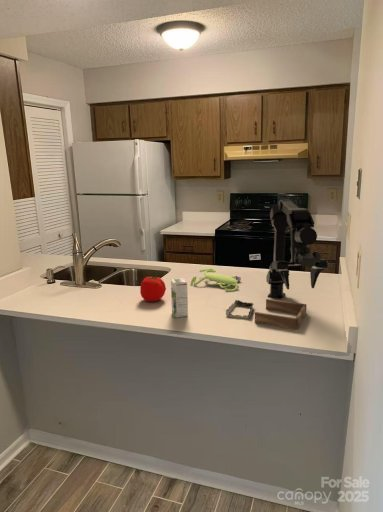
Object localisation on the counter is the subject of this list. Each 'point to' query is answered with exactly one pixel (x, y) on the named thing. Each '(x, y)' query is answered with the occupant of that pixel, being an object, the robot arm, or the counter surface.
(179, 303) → the white tall box
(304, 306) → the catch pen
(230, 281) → the figurine
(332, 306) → the counter surface
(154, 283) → the tomato
